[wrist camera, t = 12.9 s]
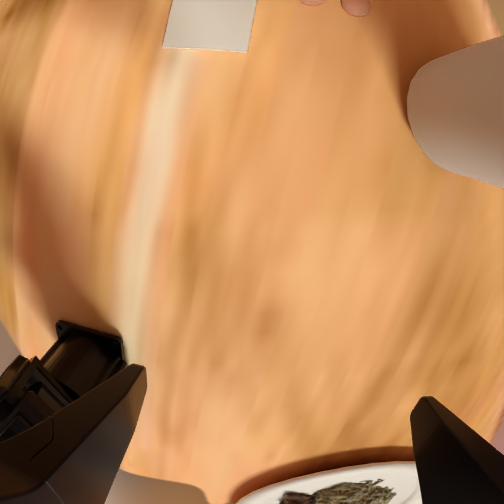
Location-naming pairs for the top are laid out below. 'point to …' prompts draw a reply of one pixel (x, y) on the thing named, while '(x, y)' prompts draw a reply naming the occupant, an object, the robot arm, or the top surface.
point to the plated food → (346, 486)
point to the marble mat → (224, 23)
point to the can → (462, 111)
